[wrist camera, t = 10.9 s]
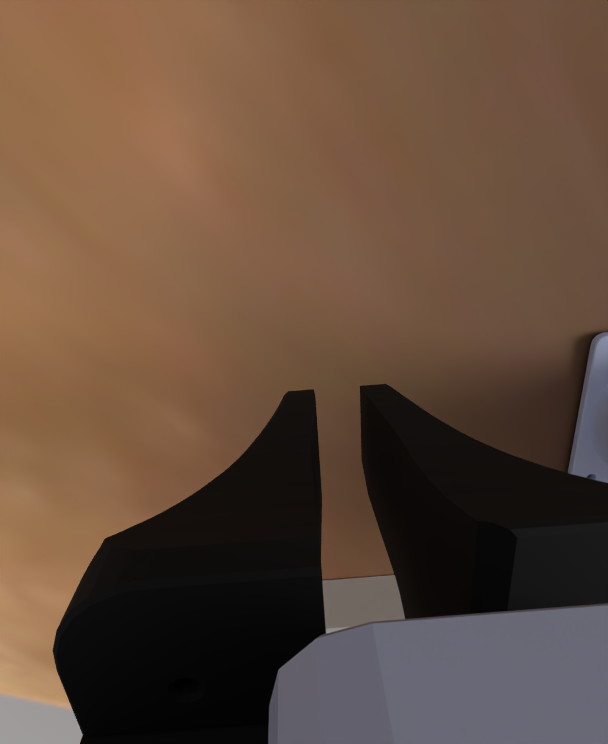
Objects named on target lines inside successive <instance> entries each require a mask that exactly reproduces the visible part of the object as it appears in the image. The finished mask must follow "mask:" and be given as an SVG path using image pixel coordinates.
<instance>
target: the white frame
mask: <svg viewBox="0 0 608 744" xmlns="http://www.w3.org/2000/svg"><path fill="white" fill-rule="evenodd" d="M322 583H323V597H324V612H325V626H326V634H327V633H331V632H334V631H338V630H342V629H345V628H349V627H353V626H357V625H360V624H364V623H368V622H374V621H387V620H400V619H405V616H404V611H403V606H402V602H401V597H400V593H399V589H398V585H397V582H396V578H395V575H388V576H375V577H362V578H349V579H336V580H323V581H322Z"/></svg>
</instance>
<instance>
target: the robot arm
mask: <svg viewBox="0 0 608 744" xmlns="http://www.w3.org/2000/svg"><path fill="white" fill-rule="evenodd" d="M360 406H361V448H362V463H363V469H364V475H365V480H366V485H367V490H368V495H369V498H370V501H371V504H372V507H373V511H374V514H375V517H376V520H377V523H378V526H379V529H380V532H381V535H382V538H383V541H384V544H385V547H386V550H387V553H388V556H389V559H390V562H391V565H392V568H393V571H394V574H395V578H396V582H397V585H398V589H399V593H400V597H401V602H402V606H403V611H404V616H405V619H400V620H387V621H374V622H368V623H364V624H360V625H357V626H353V627H349V628H345V629H342V630H338V631H334V632H331V633H327V634H326V626H325V612H324V597H323V583H322V570H321V522H322V492H321V476H320V461H319V446H318V430H317V415H316V400H315V393H314V390H300V391H288V392H287V393H286V394H285V395H284V397H283V399H282V401H281V403H280V405H279V406H278V408H277V410H276V411H275V413H274V415H273V416H272V418H271V419H270V421H269V422H268V423H267V425H266V426H265V428H264V429H263V431H262V432H261V433H260V435H259V436H258V437H257V438H256V439H255V441H254V442H253V443H252V444H251V445H250V447H249V448H248V449H247V450H246V451H245V452H244V453H243V454H242V455H241V457H240V458H239V459H238V460H237V461H235V462H234V463H233V464H232V465H231V466H230V467H229V468H228V469H227V470H225V471H224V472H223V473H222V474H220V475H219V476H218V477H216V478H215V479H214V480H212V481H211V482H210V483H208V484H207V485H205V486H204V487H203V488H201V489H200V490H199V491H197V492H196V493H194V494H193V495H191V496H189V497H188V498H186V499H185V500H183V501H181V502H180V503H178V504H176V505H174V506H173V507H171V508H169V509H167V510H166V511H164V512H162V513H160V514H158V515H156V516H154V517H152V518H150V519H148V520H146V521H144V522H141V523H139V524H137V525H135V526H133V527H130V528H128V529H126V530H124V531H122V532H119V533H117V534H115V535H112V536H110V537H108V538H105V540H104V541H103V543H102V545H101V547H100V548H99V550H98V551H97V553H96V555H95V556H94V558H93V559H92V561H91V563H90V564H89V566H88V568H87V570H86V572H85V574H84V575H83V577H82V579H81V581H80V583H79V585H78V587H77V589H76V591H75V594H74V596H73V598H72V600H71V602H70V604H69V606H68V608H67V610H66V612H65V614H64V616H63V618H62V620H61V623H60V625H59V627H58V629H57V631H56V636H55V642H54V647H53V654H54V659H55V664H56V669H57V672H58V675H59V677H60V680H61V682H62V684H63V687H64V689H65V692H66V694H67V697H68V699H69V702H70V704H71V707H72V709H73V712H74V714H75V716H76V719H77V721H78V724H79V726H80V729H81V731H82V734H83V737H82V739H81V742H80V744H608V332H604V333H600V334H598V335H597V336H595V338H594V339H593V340H592V343H591V346H590V352H589V357H588V363H587V369H586V374H585V380H584V385H583V391H582V396H581V402H580V407H579V413H578V418H577V424H576V430H575V435H574V441H573V446H572V452H571V457H570V463H569V468H568V473H565V472H562V471H558V470H555V469H551V468H548V467H545V466H541V465H539V464H536V463H533V462H530V461H527V460H524V459H521V458H518V457H515V456H512V455H510V454H507V453H505V452H502V451H500V450H497V449H495V448H493V447H491V446H488V445H486V444H484V443H482V442H479V441H477V440H475V439H473V438H471V437H469V436H467V435H465V434H463V433H461V432H459V431H458V430H456V429H454V428H452V427H451V426H449V425H447V424H445V423H443V422H442V421H440V420H439V419H437V418H435V417H434V416H432V415H431V414H429V413H428V412H426V411H424V410H423V409H422V408H420V407H419V406H417V405H416V404H414V403H413V402H411V401H410V400H409V399H407V398H406V397H404V396H403V395H401V394H400V393H399V392H397V391H396V390H394V389H393V388H392V387H390V386H388V385H387V384H380V385H366V386H360ZM590 474H591V476H590V477H588V478H586V477H587V476H588V475H590Z"/></svg>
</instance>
